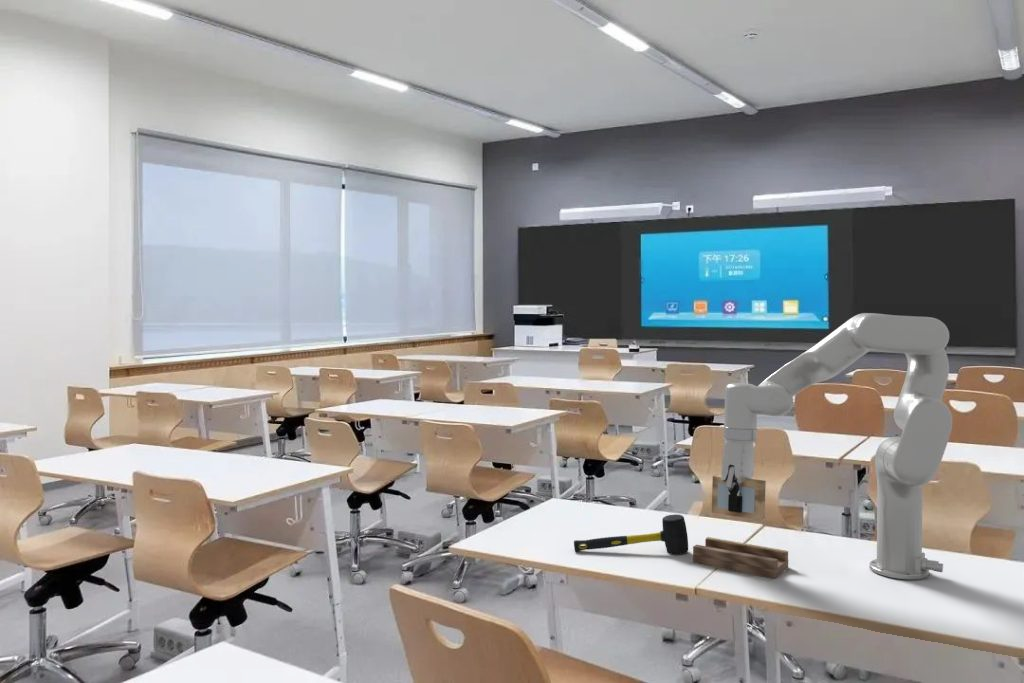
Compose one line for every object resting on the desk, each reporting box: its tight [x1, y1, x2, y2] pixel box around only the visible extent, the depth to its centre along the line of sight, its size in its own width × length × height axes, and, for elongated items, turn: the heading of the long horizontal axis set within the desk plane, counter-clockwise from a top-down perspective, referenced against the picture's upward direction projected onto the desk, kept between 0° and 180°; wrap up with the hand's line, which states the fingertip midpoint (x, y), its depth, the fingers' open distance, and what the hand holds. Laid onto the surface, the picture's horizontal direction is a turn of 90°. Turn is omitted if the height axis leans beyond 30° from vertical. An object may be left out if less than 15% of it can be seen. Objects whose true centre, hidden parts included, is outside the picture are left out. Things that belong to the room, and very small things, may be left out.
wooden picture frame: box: [711, 473, 767, 521], centre depth 190 cm, size 12×3×9 cm, turn 54°
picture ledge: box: [692, 536, 789, 580], centre depth 190 cm, size 20×10×4 cm, turn 54°
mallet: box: [573, 514, 689, 556], centre depth 202 cm, size 29×6×10 cm, turn 87°
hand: (738, 509), depth 190 cm, fingers closed on wooden picture frame, 3 cm apart
